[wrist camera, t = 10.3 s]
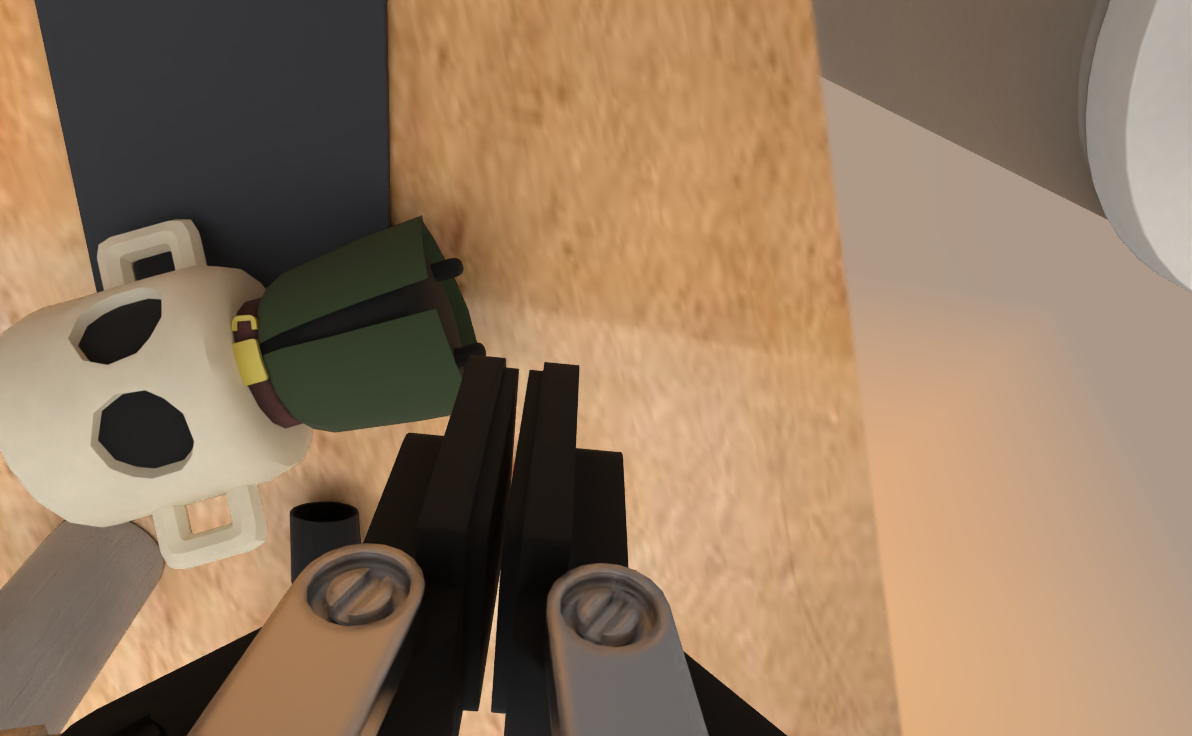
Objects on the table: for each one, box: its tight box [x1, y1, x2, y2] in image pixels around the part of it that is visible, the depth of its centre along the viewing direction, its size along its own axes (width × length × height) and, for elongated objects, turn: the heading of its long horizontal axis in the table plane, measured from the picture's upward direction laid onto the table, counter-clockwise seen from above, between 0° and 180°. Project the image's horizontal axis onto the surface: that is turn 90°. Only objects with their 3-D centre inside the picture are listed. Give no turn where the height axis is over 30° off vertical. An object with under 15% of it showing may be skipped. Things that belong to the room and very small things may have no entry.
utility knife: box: [290, 502, 361, 584], centre depth 35 cm, size 22×4×3 cm, turn 173°
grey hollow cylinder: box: [0, 520, 164, 735], centre depth 28 cm, size 4×4×10 cm
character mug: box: [0, 216, 486, 569], centre depth 24 cm, size 11×7×13 cm
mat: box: [35, 0, 391, 293], centre depth 25 cm, size 10×17×1 cm, turn 174°
